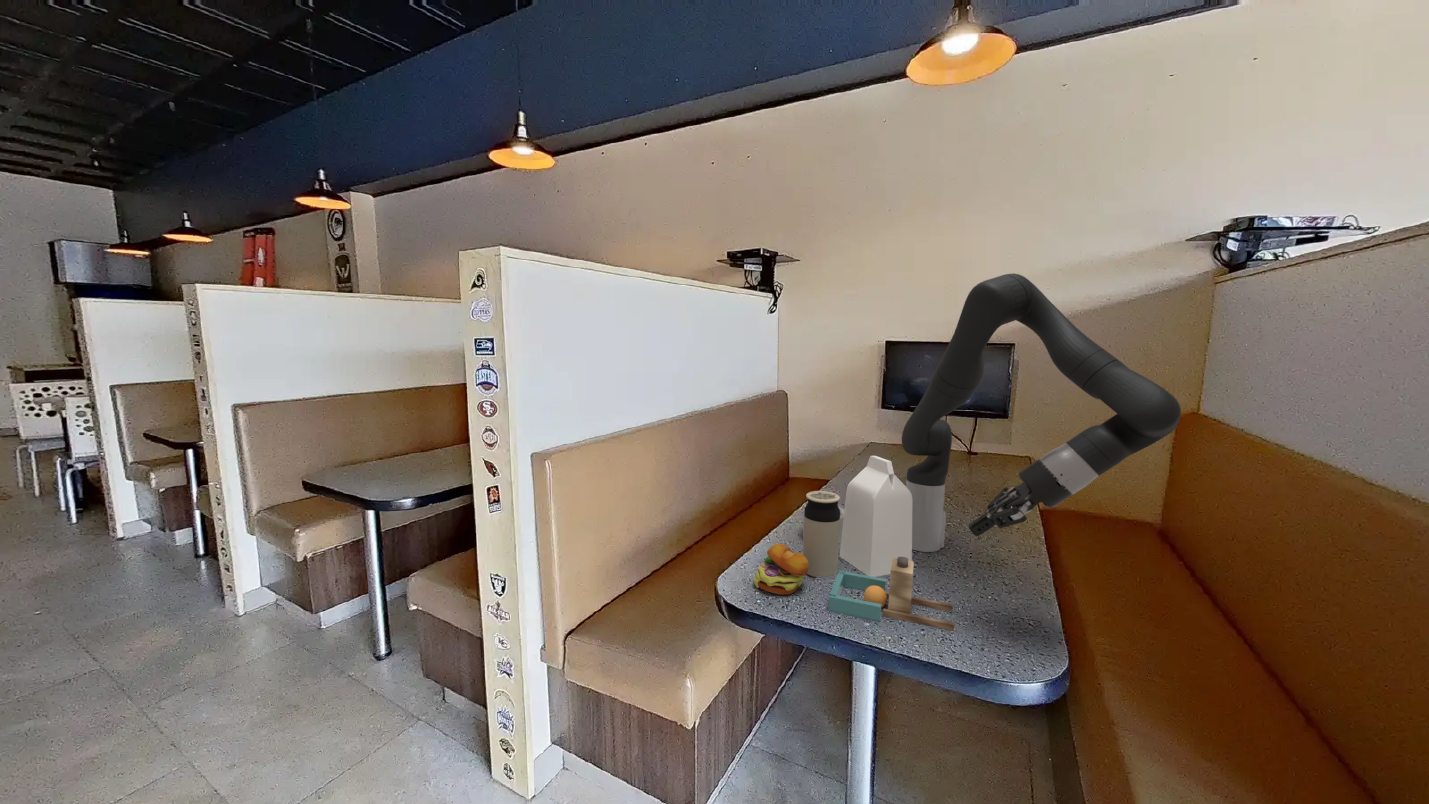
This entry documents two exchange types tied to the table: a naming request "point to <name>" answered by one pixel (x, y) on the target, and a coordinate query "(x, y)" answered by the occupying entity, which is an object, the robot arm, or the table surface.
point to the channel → (922, 619)
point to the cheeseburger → (781, 570)
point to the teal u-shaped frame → (854, 605)
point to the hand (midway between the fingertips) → (972, 531)
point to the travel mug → (821, 533)
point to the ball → (875, 595)
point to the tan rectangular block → (901, 585)
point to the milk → (876, 519)
